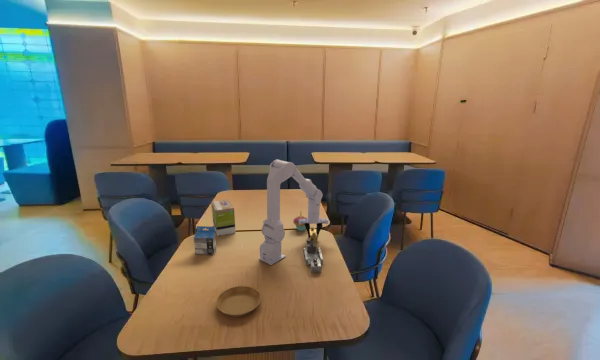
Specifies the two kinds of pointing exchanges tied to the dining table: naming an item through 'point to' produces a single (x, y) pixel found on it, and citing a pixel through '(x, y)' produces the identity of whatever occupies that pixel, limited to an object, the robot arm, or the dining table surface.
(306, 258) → the chain
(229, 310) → the plant saucer
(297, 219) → the cupcake
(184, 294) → the dining table surface
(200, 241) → the blue and white carton
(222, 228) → the tea box
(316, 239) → the brass link
